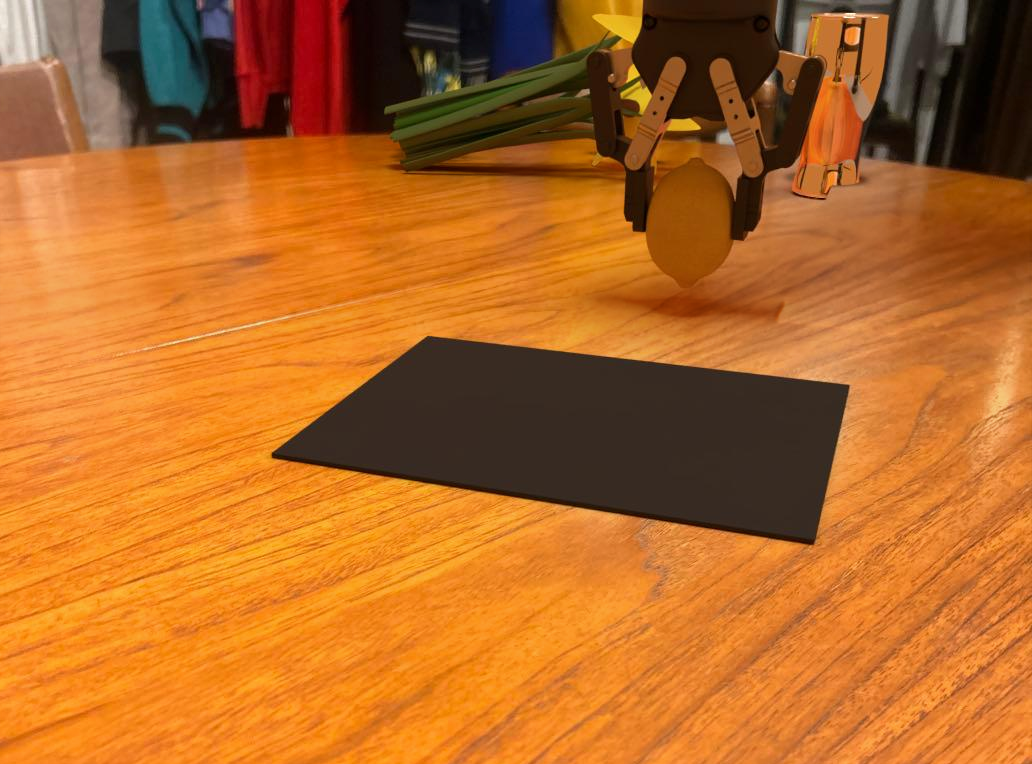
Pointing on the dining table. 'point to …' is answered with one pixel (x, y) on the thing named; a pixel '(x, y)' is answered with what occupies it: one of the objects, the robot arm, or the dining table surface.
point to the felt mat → (593, 434)
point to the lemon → (690, 222)
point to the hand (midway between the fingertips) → (690, 232)
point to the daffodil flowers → (454, 132)
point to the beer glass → (841, 98)
